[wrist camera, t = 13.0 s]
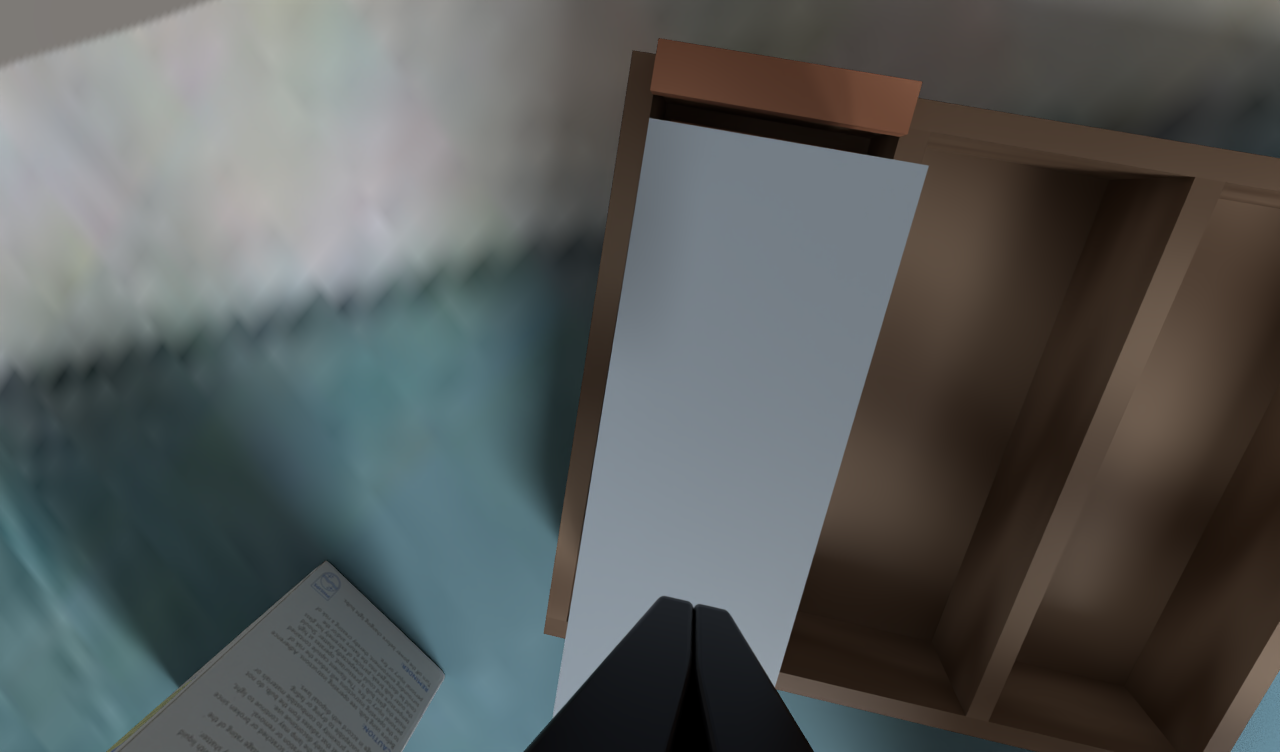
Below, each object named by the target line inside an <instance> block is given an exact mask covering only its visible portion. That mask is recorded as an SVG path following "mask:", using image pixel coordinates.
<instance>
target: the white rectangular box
mask: <svg viewBox="0 0 1280 752" xmlns="http://www.w3.org/2000/svg"><path fill="white" fill-rule="evenodd" d="M928 167H929V166H928V165H922V164H916V163H910V162H905V161H899V160H893V159H887V158H881V157H875V156H869V155H864V154H858V153H852V152H846V151H840V150H834V149H828V148H823V147H817V146H811V145H805V144H799V143H793V142H787V141H782V140H776V139H770V138H764V137H758V136H752V135H746V134H741V133H735V132H729V131H723V130H717V129H711V128H706V127H700V126H694V125H688V124H682V123H676V122H670V121H665V120H659V119H653V118H649V124H648V130H647V136H646V143H645V149H644V155H643V161H642V167H641V174H640V180H639V186H638V192H637V198H636V204H635V211H634V217H633V223H632V229H631V235H630V242H629V248H628V254H627V260H626V266H625V273H624V279H623V285H622V291H621V297H620V304H619V310H618V316H617V322H616V328H615V335H614V341H613V347H612V353H611V359H610V365H609V372H608V378H607V384H606V390H605V396H604V403H603V409H602V415H601V421H600V427H599V434H598V440H597V446H596V452H595V458H594V465H593V471H592V477H591V483H590V489H589V496H588V502H587V508H586V514H585V520H584V527H583V533H582V539H581V545H580V551H579V557H578V564H577V570H576V576H575V582H574V588H573V595H572V601H571V607H570V613H569V619H568V626H567V632H566V638H565V644H564V650H563V657H562V663H561V669H560V675H559V681H558V688H557V694H556V700H555V706H554V712H553V718H554V716H555V715H556V714H557V713H558V712H559V711H560V710H561V708H562V707H563V706H564V705H565V704H566V703H567V702H568V700H569V699H570V698H571V697H572V696H573V695H574V694H575V693H576V691H577V690H578V689H579V688H580V687H581V686H582V685H583V683H584V682H585V681H586V680H587V679H588V678H589V677H590V675H591V674H592V673H593V672H594V671H595V670H596V669H597V667H598V666H599V665H600V664H601V663H602V662H603V661H604V659H605V658H606V657H607V656H608V655H609V654H610V653H611V651H612V650H613V649H614V648H615V647H616V646H617V645H618V644H619V642H620V641H621V640H622V639H623V638H624V637H625V636H626V634H627V633H628V632H629V631H630V630H631V629H632V628H633V626H634V625H635V624H636V623H637V622H638V621H639V620H640V618H641V617H642V616H643V615H644V614H645V613H646V612H647V610H648V609H649V608H650V607H651V606H652V605H653V604H654V602H655V601H656V600H657V599H658V598H659V597H661V596H669V597H673V598H677V599H682V600H686V601H689V602H691V603H692V605H693V608H694V606H695V605H697V604H703V605H708V606H712V607H717V608H721V609H725V610H727V611H728V612H729V613H730V615H731V616H732V618H733V619H734V621H735V623H736V624H737V626H738V628H739V629H740V631H741V633H742V634H743V636H744V638H745V639H746V641H747V642H748V644H749V646H750V647H751V649H752V651H753V652H754V654H755V656H756V657H757V659H758V661H759V662H760V664H761V666H762V667H763V669H764V670H765V672H766V674H767V675H768V677H769V679H770V680H771V682H772V684H773V685H774V687H775V685H776V682H777V678H778V675H779V672H780V668H781V665H782V662H783V658H784V655H785V651H786V648H787V645H788V641H789V638H790V634H791V631H792V628H793V624H794V621H795V617H796V614H797V611H798V607H799V604H800V601H801V597H802V594H803V590H804V587H805V584H806V580H807V577H808V573H809V570H810V567H811V563H812V560H813V556H814V553H815V550H816V546H817V543H818V540H819V536H820V533H821V529H822V526H823V523H824V519H825V516H826V512H827V509H828V506H829V502H830V499H831V495H832V492H833V489H834V485H835V482H836V479H837V475H838V472H839V468H840V465H841V462H842V458H843V455H844V451H845V448H846V445H847V441H848V438H849V434H850V431H851V428H852V424H853V421H854V418H855V414H856V411H857V407H858V404H859V401H860V397H861V394H862V390H863V387H864V384H865V380H866V377H867V373H868V370H869V367H870V363H871V360H872V357H873V353H874V350H875V346H876V343H877V340H878V336H879V333H880V329H881V326H882V323H883V319H884V316H885V312H886V309H887V306H888V302H889V299H890V296H891V292H892V289H893V285H894V282H895V279H896V275H897V272H898V268H899V265H900V262H901V258H902V255H903V251H904V248H905V245H906V241H907V238H908V235H909V231H910V228H911V224H912V221H913V218H914V214H915V211H916V207H917V204H918V201H919V197H920V194H921V190H922V187H923V184H924V180H925V177H926V174H927V170H928ZM553 718H552V719H553Z"/></svg>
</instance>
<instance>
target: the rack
mask: <svg viewBox="0 0 1280 752" xmlns="http://www.w3.org/2000/svg"><path fill="white" fill-rule="evenodd" d="M921 85H922V82H921V81H915V80H909V79H903V78H897V77H891V76H885V75H879V74H873V73H867V72H860V71H854V70H848V69H842V68H836V67H830V66H824V65H818V64H812V63H806V62H800V61H794V60H788V59H782V58H776V57H770V56H764V55H758V54H751V53H745V52H739V51H733V50H727V49H721V48H715V47H709V46H703V45H697V44H691V43H685V42H679V41H673V40H667V39H661V38H659V39H658V45H657V51H656V54H652V53H646V52H640V51H634V50H633V52H632V58H631V65H630V71H629V78H628V85H627V91H626V98H625V104H624V111H623V117H622V124H621V130H620V137H619V144H618V150H617V157H616V163H615V170H614V176H613V183H612V189H611V196H610V203H609V209H608V216H607V222H606V229H605V235H604V242H603V248H602V255H601V261H600V268H599V275H598V281H597V288H596V294H595V301H594V307H593V314H592V320H591V327H590V334H589V340H588V347H587V353H586V360H585V366H584V373H583V379H582V386H581V393H580V399H579V406H578V412H577V419H576V425H575V432H574V438H573V445H572V452H571V458H570V465H569V471H568V478H567V484H566V491H565V497H564V504H563V510H562V517H561V524H560V530H559V537H558V543H557V550H556V556H555V563H554V569H553V576H552V583H551V589H550V596H549V602H548V609H547V615H546V622H545V628H544V634H548V635H552V636H556V637H560V638H564V639H565V638H566V632H567V626H568V619H569V613H570V607H571V601H572V595H573V588H574V582H575V576H576V570H577V564H578V557H579V551H580V545H581V539H582V533H583V527H584V520H585V514H586V508H587V502H588V496H589V489H590V483H591V477H592V471H593V465H594V458H595V452H596V446H597V440H598V434H599V427H600V421H601V415H602V409H603V403H604V396H605V390H606V384H607V378H608V372H609V365H610V359H611V353H612V347H613V341H614V335H615V328H616V322H617V316H618V310H619V304H620V297H621V291H622V285H623V279H624V273H625V266H626V260H627V254H628V248H629V242H630V235H631V229H632V223H633V217H634V211H635V204H636V198H637V192H638V186H639V180H640V174H641V167H642V161H643V155H644V149H645V143H646V136H647V130H648V124H649V118H653V119H659V120H665V121H670V122H676V123H682V124H688V125H694V126H700V127H706V128H711V129H717V130H723V131H729V132H735V133H741V134H746V135H752V136H758V137H764V138H770V139H776V140H782V141H787V142H793V143H799V144H805V145H811V146H817V147H823V148H828V149H834V150H840V151H846V152H852V153H858V154H864V155H869V156H875V157H881V158H887V159H893V160H899V161H905V162H910V163H916V164H922V165H928V166H929V167H928V170H927V174H926V177H925V180H924V184H923V187H922V190H921V194H920V197H919V201H918V204H917V207H916V211H915V214H914V218H913V221H912V224H911V228H910V231H909V235H908V238H907V241H906V245H905V248H904V251H903V255H902V258H901V262H900V265H899V268H898V272H897V275H896V279H895V282H894V285H893V289H892V292H891V296H890V299H889V302H888V306H887V309H886V312H885V316H884V319H883V323H882V326H881V329H880V333H879V336H878V340H877V343H876V346H875V350H874V353H873V357H872V360H871V363H870V367H869V370H868V373H867V377H866V380H865V384H864V387H863V390H862V394H861V397H860V401H859V404H858V407H857V411H856V414H855V418H854V421H853V424H852V428H851V431H850V434H849V438H848V441H847V445H846V448H845V451H844V455H843V458H842V462H841V465H840V468H839V472H838V475H837V479H836V482H835V485H834V489H833V492H832V495H831V499H830V502H829V506H828V509H827V512H826V516H825V519H824V523H823V526H822V529H821V533H820V536H819V540H818V543H817V546H816V550H815V553H814V556H813V560H812V563H811V567H810V570H809V573H808V577H807V580H806V584H805V587H804V590H803V594H802V597H801V601H800V604H799V607H798V611H797V614H796V617H795V621H794V624H793V628H792V631H791V634H790V638H789V641H788V645H787V648H786V651H785V655H784V658H783V662H782V665H781V668H780V672H779V675H778V678H777V682H776V685H775V689H777V690H781V691H785V692H790V693H794V694H798V695H802V696H806V697H810V698H815V699H819V700H823V701H827V702H831V703H835V704H840V705H844V706H848V707H852V708H856V709H860V710H865V711H869V712H873V713H877V714H881V715H885V716H890V717H894V718H898V719H902V720H906V721H910V722H915V723H919V724H923V725H927V726H931V727H936V728H940V729H944V730H948V731H952V732H956V733H961V734H965V735H969V736H973V737H977V738H981V739H986V740H990V741H994V742H998V743H1002V744H1006V745H1011V746H1015V747H1019V748H1023V749H1027V750H1031V751H1036V752H1230V751H1231V750H1232V748H1233V746H1234V745H1235V743H1236V741H1237V740H1238V738H1239V736H1240V735H1241V733H1242V731H1243V730H1244V728H1245V726H1246V725H1247V723H1248V721H1249V720H1250V718H1251V717H1252V715H1253V713H1254V712H1255V710H1256V708H1257V707H1258V705H1259V703H1260V702H1261V700H1262V698H1263V697H1264V695H1265V693H1266V692H1267V690H1268V688H1269V687H1270V685H1271V683H1272V682H1273V680H1274V678H1275V677H1276V675H1277V674H1278V672H1279V670H1280V158H1274V157H1268V156H1262V155H1256V154H1250V153H1244V152H1238V151H1232V150H1226V149H1220V148H1214V147H1208V146H1203V145H1197V144H1191V143H1185V142H1179V141H1173V140H1167V139H1161V138H1155V137H1149V136H1143V135H1137V134H1131V133H1125V132H1119V131H1113V130H1107V129H1101V128H1095V127H1089V126H1083V125H1077V124H1071V123H1065V122H1059V121H1053V120H1047V119H1041V118H1035V117H1029V116H1023V115H1017V114H1011V113H1005V112H999V111H993V110H987V109H981V108H975V107H969V106H963V105H957V104H951V103H945V102H939V101H933V100H927V99H921V98H918V96H919V92H920V89H921Z"/></svg>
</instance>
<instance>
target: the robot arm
mask: <svg viewBox="0 0 1280 752" xmlns="http://www.w3.org/2000/svg"><path fill="white" fill-rule="evenodd" d="M524 752H814V751H813V749H812V748H811V746H810V744H809V743H808V741H807V740H806V738H805V736H804V735H803V733H802V731H801V730H800V728H799V726H798V725H797V723H796V721H795V720H794V718H793V717H792V715H791V713H790V712H789V710H788V708H787V707H786V705H785V703H784V702H783V700H782V698H781V697H780V695H779V693H778V692H777V690H776V689H775V687H774V685H773V684H772V682H771V680H770V679H769V677H768V675H767V674H766V672H765V670H764V669H763V667H762V666H761V664H760V662H759V661H758V659H757V657H756V656H755V654H754V652H753V651H752V649H751V647H750V646H749V644H748V642H747V641H746V639H745V638H744V636H743V634H742V633H741V631H740V629H739V628H738V626H737V624H736V623H735V621H734V619H733V618H732V616H731V615H730V613H729V612H728V611H727V610H725V609H721V608H717V607H712V606H708V605H703V604H697V605H695V606H694V608H693V605H692V603H691V602H689V601H686V600H682V599H677V598H673V597H669V596H661V597H659V598H658V599H657V600H656V601H655V602H654V604H653V605H652V606H651V607H650V608H649V609H648V610H647V612H646V613H645V614H644V615H643V616H642V617H641V618H640V620H639V621H638V622H637V623H636V624H635V625H634V626H633V628H632V629H631V630H630V631H629V632H628V633H627V634H626V636H625V637H624V638H623V639H622V640H621V641H620V642H619V644H618V645H617V646H616V647H615V648H614V649H613V650H612V651H611V653H610V654H609V655H608V656H607V657H606V658H605V659H604V661H603V662H602V663H601V664H600V665H599V666H598V667H597V669H596V670H595V671H594V672H593V673H592V674H591V675H590V677H589V678H588V679H587V680H586V681H585V682H584V683H583V685H582V686H581V687H580V688H579V689H578V690H577V691H576V693H575V694H574V695H573V696H572V697H571V698H570V699H569V700H568V702H567V703H566V704H565V705H564V706H563V707H562V708H561V710H560V711H559V712H558V713H557V714H556V715H555V716H554V718H553V719H552V720H551V721H550V722H549V723H548V724H547V726H546V727H545V728H544V729H543V730H542V731H541V732H540V734H539V735H538V736H537V737H536V738H535V739H534V740H533V742H532V743H531V744H530V745H529V746H528V747H527V748H526V749H525V751H524Z"/></svg>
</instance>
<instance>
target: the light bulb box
mask: <svg viewBox="0 0 1280 752" xmlns="http://www.w3.org/2000/svg"><path fill="white" fill-rule="evenodd" d="M444 678H445V675H444V673H443V671H442V670H441V669H440V668H439V667H438V666H437V665H436V664H435V663H434V662H433V661H432V660H431V659H429V658H428V657H427V656H426V655H425V654H424V653H423V652H422V651H421V650H420V649H419V648H418V647H417V646H416V645H415V644H414V643H413V642H412V641H411V640H410V639H409V638H408V637H407V636H406V635H405V634H404V633H403V632H402V631H400V630H399V629H398V628H397V627H396V626H395V625H394V624H393V623H392V622H391V621H390V620H389V619H388V618H387V617H386V616H385V615H384V614H383V613H382V612H380V611H379V610H378V609H377V608H376V607H375V606H374V605H373V604H372V603H371V602H370V601H369V600H368V599H367V598H366V597H365V596H364V595H363V594H362V593H361V592H360V591H358V590H357V589H356V588H355V587H354V586H353V585H352V584H351V583H350V582H349V581H348V580H347V579H346V578H345V577H344V576H343V575H342V574H341V573H340V572H339V571H338V570H337V569H336V568H335V567H333V566H332V565H331V564H330V563H329V562H328V561H324V562H323V563H322V564H321V565H319V566H318V567H317V568H315V569H314V570H313V571H312V572H311V573H310V574H309V575H307V576H306V577H305V578H304V579H303V580H302V581H300V582H299V583H298V584H297V585H296V586H295V587H293V588H292V589H291V590H290V591H289V592H288V593H286V594H285V595H284V596H283V597H282V598H281V599H280V600H278V601H277V602H276V603H275V604H274V605H273V606H272V607H270V608H269V609H268V610H267V611H266V612H265V613H264V614H262V615H261V616H260V617H259V618H258V619H257V620H256V621H254V622H253V623H252V624H251V625H250V626H249V627H247V628H246V629H245V630H244V631H243V632H242V633H241V634H239V635H238V636H237V637H236V638H235V639H234V640H233V641H231V642H230V643H229V644H228V645H227V646H226V647H225V648H223V649H222V650H221V651H220V652H219V653H218V654H217V655H216V656H214V657H213V658H212V659H211V660H210V661H209V662H208V663H206V664H205V665H204V666H203V667H202V668H201V669H200V670H199V671H197V672H196V673H195V674H194V675H193V676H192V677H191V678H189V679H188V680H187V681H186V682H185V683H184V684H183V685H182V686H180V687H179V688H178V689H177V690H176V691H175V692H174V693H172V694H171V695H170V696H169V697H168V698H167V699H166V700H164V701H163V702H162V703H161V704H160V705H159V706H158V707H156V708H155V709H154V710H153V711H152V712H151V713H150V714H148V715H147V716H146V717H145V718H144V719H143V720H142V721H141V722H139V723H138V724H137V725H136V726H135V727H134V728H133V729H131V730H130V731H129V732H128V733H127V734H126V735H125V736H123V737H122V738H121V739H120V740H119V741H118V742H117V743H116V744H114V745H113V746H112V747H111V748H110V749H109V750H108V751H106V752H402V751H403V749H404V747H405V746H406V744H407V742H408V741H409V739H410V737H411V735H412V734H413V732H414V730H415V728H416V727H417V725H418V723H419V721H420V719H421V718H422V716H423V714H424V713H425V711H426V709H427V707H428V706H429V704H430V702H431V700H432V699H433V697H434V695H435V694H436V692H437V690H438V688H439V687H440V685H441V683H442V682H443V680H444Z"/></svg>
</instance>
